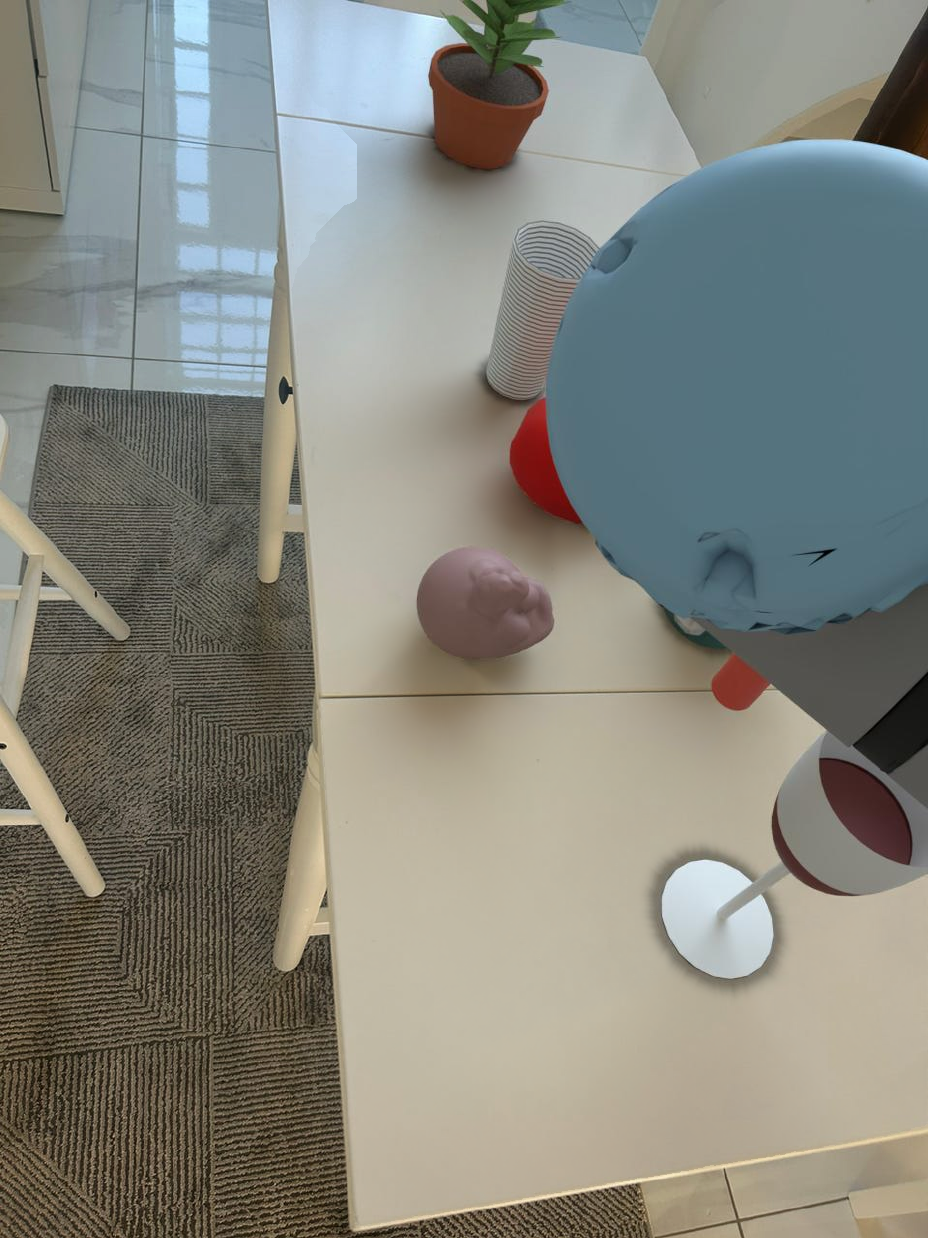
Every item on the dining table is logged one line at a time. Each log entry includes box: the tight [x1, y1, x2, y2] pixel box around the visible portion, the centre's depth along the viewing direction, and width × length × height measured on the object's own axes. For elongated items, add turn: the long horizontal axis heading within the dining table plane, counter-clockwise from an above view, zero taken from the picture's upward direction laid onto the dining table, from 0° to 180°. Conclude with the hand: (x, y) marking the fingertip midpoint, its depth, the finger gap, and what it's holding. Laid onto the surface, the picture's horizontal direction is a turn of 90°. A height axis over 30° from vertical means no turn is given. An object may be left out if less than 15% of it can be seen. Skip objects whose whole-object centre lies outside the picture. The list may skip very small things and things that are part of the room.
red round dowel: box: [710, 652, 771, 712], centre depth 46 cm, size 2×2×15 cm
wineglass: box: [661, 729, 928, 980], centre depth 62 cm, size 9×10×23 cm
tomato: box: [509, 396, 584, 525], centre depth 88 cm, size 13×12×11 cm
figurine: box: [416, 546, 555, 661], centre depth 76 cm, size 9×11×12 cm
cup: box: [485, 220, 600, 401], centre depth 93 cm, size 8×8×16 cm
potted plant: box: [428, 0, 573, 170], centre depth 111 cm, size 15×15×30 cm
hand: (820, 604), depth 50 cm, fingers closed on red round dowel, 2 cm apart
